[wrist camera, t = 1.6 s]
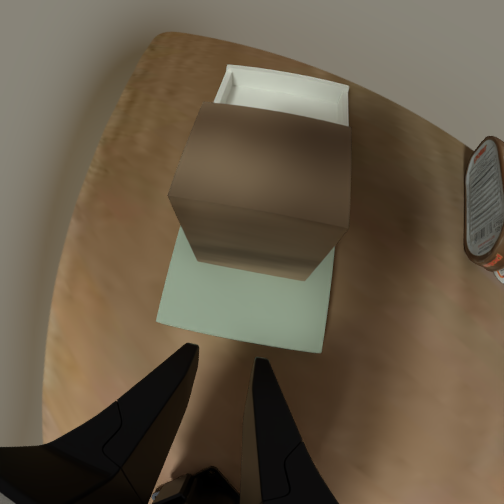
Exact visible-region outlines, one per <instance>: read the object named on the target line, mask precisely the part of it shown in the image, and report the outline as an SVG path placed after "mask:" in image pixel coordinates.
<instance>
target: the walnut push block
mask: <svg viewBox="0 0 504 504" xmlns="http://www.w3.org/2000/svg"><path fill="white" fill-rule="evenodd" d="M167 196H168V198H169V200H170V202H171V205H172V207H173V209H174V211H175V214H176V216H177V218H178V220H179V223H180V225H181V227H182V229H183V231H184V234H185V236H186V238H187V240H188V242H189V244H190V247H191V249H192V251H193V253H194V255H195V257H196V259H197V261H198V262H203V263H208V264H213V265H218V266H224V267H229V268H234V269H239V270H245V271H250V272H255V273H261V274H266V275H272V276H277V277H282V278H288V279H294V280H299V281H306V279H307V278H308V277H309V276H310V275H311V274H312V272H313V271H314V270H315V269H316V268H317V267H318V265H319V264H320V263H321V262H322V261H323V259H324V258H325V257H326V256H327V255H328V253H329V252H330V251H331V250H332V249H333V247H334V246H335V245H336V244H337V242H338V241H339V240H340V239H341V238H342V236H343V235H344V234H345V233H346V231H347V230H348V229H349V218H350V196H351V127H349V126H345V125H341V124H337V123H332V122H328V121H324V120H319V119H315V118H310V117H305V116H300V115H295V114H290V113H284V112H279V111H273V110H267V109H260V108H254V107H246V106H239V105H231V104H222V103H213V102H203V103H202V106H201V108H200V111H199V113H198V115H197V118H196V120H195V123H194V125H193V128H192V130H191V133H190V135H189V138H188V140H187V143H186V145H185V148H184V151H183V153H182V156H181V159H180V161H179V164H178V167H177V170H176V172H175V175H174V178H173V181H172V184H171V187H170V190H169V193H168V195H167Z"/></svg>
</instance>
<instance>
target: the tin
mask: <svg viewBox="0 0 504 504" xmlns="http://www.w3.org/2000/svg"><path fill="white" fill-rule="evenodd" d="M464 247H465V251H466V254H467V256H468V258H469V259H470V260H471V261H472V262H474V263H475V264H477V265H479V266H482V267H484V268H485V269H486V270H488V271H491V272H495V271H499V270H501V269H503V268H504V142H503V141H501V140H500V139H498V138H497V137H494V136H487V137H486V138H485V139H484V140H483V141H482V142H481V143H480V144H479V146H478V147H477V149H476V150H475V151H474V152H473V154H472V155H471V158H470V160H469V163H468V166H467V170H466V175H465V227H464Z"/></svg>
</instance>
